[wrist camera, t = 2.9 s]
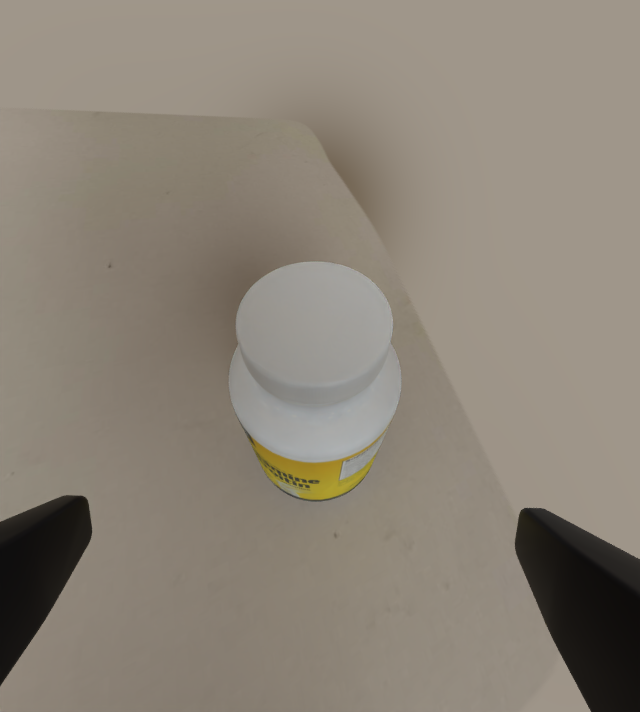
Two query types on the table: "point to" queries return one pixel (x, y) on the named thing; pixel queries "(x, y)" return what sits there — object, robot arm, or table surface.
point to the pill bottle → (315, 376)
